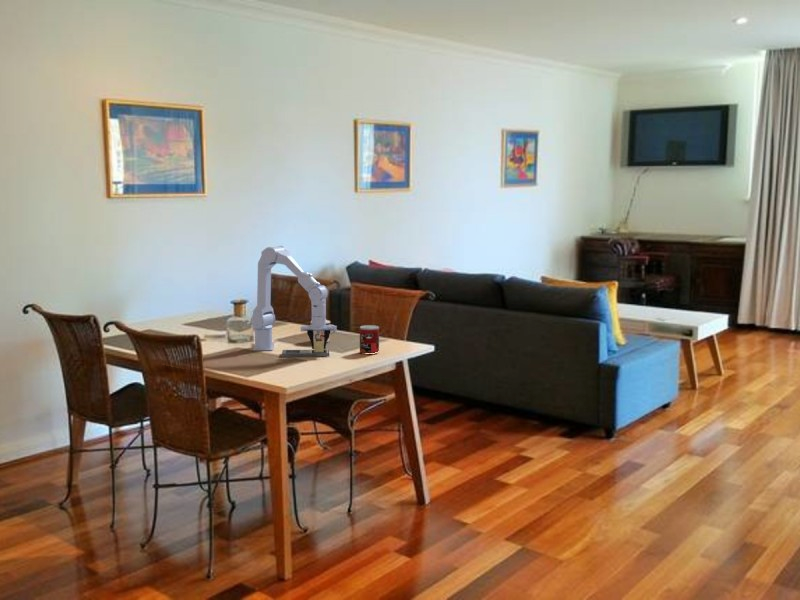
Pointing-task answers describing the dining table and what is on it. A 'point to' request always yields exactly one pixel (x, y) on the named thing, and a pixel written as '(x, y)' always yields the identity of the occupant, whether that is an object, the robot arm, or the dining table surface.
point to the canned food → (369, 339)
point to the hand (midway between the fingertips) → (318, 348)
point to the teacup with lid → (322, 332)
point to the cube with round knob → (318, 345)
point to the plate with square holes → (303, 353)
